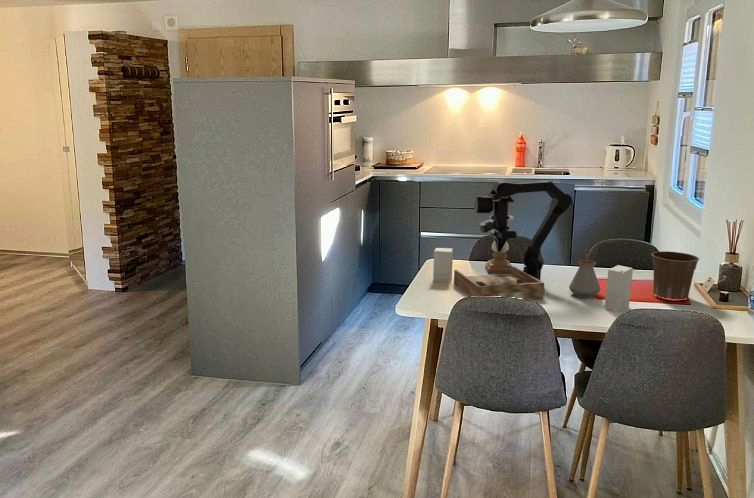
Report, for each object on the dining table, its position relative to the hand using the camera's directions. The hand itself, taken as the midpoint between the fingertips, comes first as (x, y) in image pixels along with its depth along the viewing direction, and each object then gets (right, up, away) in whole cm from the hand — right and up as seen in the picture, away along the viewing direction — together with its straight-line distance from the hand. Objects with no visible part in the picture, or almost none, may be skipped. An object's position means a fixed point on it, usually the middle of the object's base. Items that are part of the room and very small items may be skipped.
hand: (498, 251), depth 268 cm
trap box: (-2, -15, -9) cm, 18 cm away
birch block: (-1, -14, -17) cm, 22 cm away
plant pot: (+62, -17, -16) cm, 66 cm away
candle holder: (+4, -9, +23) cm, 25 cm away
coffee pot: (+32, -16, -9) cm, 36 cm away
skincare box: (+37, -20, -30) cm, 51 cm away
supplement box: (-22, -12, +8) cm, 26 cm away
